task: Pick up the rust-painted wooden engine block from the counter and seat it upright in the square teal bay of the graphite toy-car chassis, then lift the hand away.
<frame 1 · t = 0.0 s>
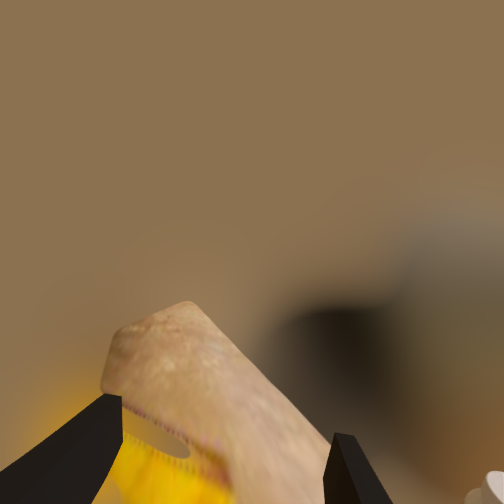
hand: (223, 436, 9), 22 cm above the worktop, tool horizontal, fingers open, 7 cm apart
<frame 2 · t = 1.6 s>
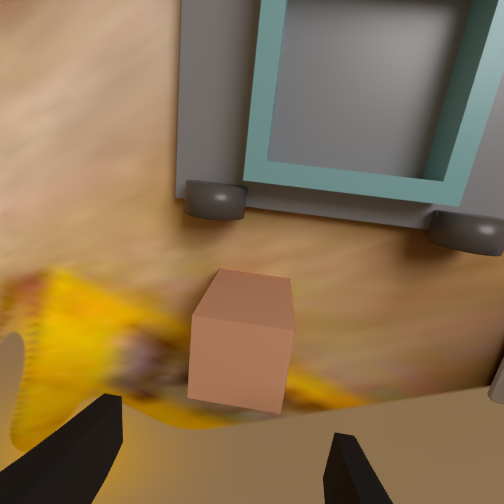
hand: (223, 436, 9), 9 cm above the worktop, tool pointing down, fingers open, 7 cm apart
chassis: (356, 89, 14), on the worktop
engine block: (250, 305, 18), on the worktop
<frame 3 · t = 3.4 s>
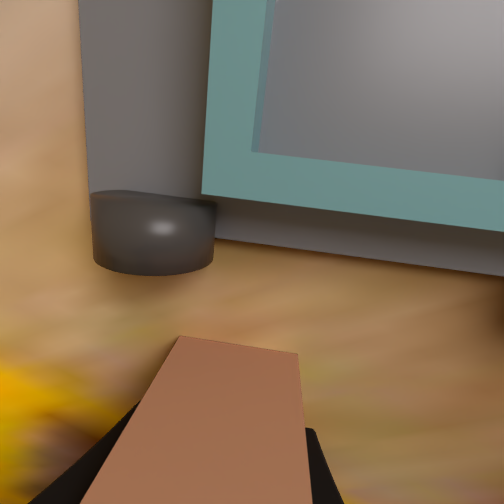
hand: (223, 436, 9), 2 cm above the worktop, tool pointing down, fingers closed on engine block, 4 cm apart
chassis: (433, 10, 7), on the worktop
engine block: (232, 392, 11), on the worktop, touching gripper
when the fingers open (4 cm above the worktop, at t = 8.8 s): engine block drops 1 cm, resting on chassis.
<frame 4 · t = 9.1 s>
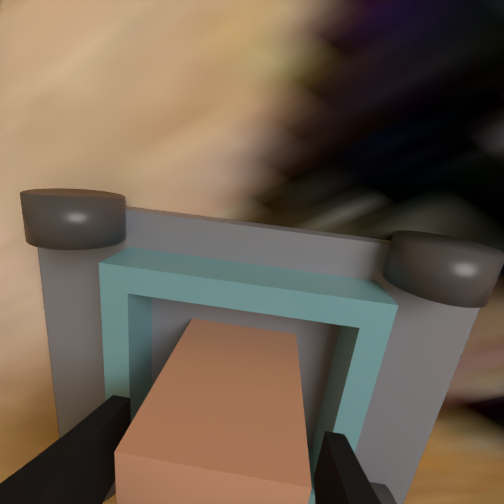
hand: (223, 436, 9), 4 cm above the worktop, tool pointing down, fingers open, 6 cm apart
chassis: (240, 356, 13), on the worktop
engine block: (238, 369, 13), point 1 cm above the worktop, touching chassis
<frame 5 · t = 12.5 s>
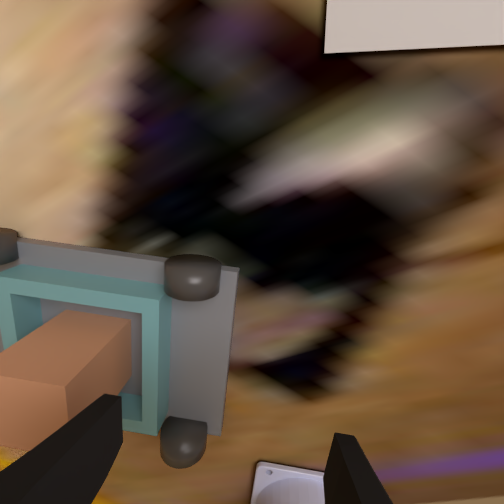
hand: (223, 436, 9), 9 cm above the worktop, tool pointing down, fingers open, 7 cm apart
paper stack: (413, 2, 14), on the worktop
chassis: (106, 335, 20), on the worktop
engine block: (99, 343, 19), point 1 cm above the worktop, touching chassis
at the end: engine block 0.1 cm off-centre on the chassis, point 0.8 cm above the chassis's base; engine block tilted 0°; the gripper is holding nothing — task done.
